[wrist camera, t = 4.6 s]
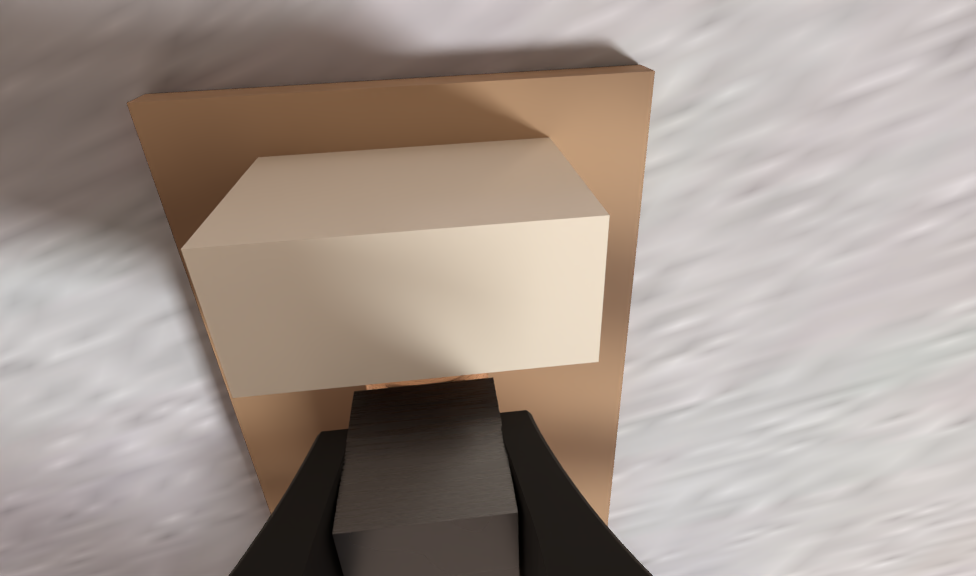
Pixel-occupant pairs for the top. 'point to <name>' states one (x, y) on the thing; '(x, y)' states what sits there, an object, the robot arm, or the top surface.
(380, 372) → the cream rectangular block
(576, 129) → the walnut board
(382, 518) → the brown piece
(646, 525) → the top surface
